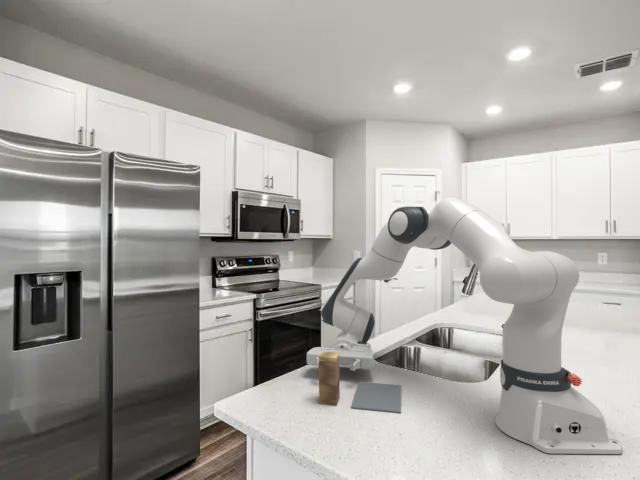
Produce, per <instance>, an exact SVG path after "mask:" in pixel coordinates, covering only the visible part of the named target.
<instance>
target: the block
mask: <svg viewBox="0 0 640 480" xmlns="http://www.w3.org/2000/svg"><path fill="white" fill-rule="evenodd" d="M340 382H341V381H340V367H339V352H322V353H321V354H320V356H319V368H318V401H319V402H318V404H319V405H324V406H334V407H335V406H336V407H337V405H338V403H339V401H340V398H341V397H340V393H341V392H340V391H341V389H340V388H341V386H340Z"/></svg>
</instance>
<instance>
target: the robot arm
mask: <svg viewBox="0 0 640 480" xmlns="http://www.w3.org/2000/svg"><path fill="white" fill-rule="evenodd" d="M450 245H454V247H456V248H457V249H458V250H459V251H460V252H461V253H462V254H463V255H465V256H466V257H467V258H468V259H469V260H470V261H472V263H473V264H474V265H475V267H476V268H477V270H478V271H479V282H480V286H481V289H482V291H483V292H484V293H485V295H486V296H487V297H489V298H490V299H491V300H493V301H494V302H498V303H501V304H502V303H503V304H509V305H513V307H512V310H511V313H510V314H509V317H508V318H507V320H506V321H504V323H503V326H502V359H501V360H500V369H499V372H500V373H499V375H500V377H499V378H500V384H501V395H500V399H499V407H498V410H497V413H496V415H495V420H494V422H495V425H496V426H497V428H498V429H499V430H500V431H502V432H503V433H505V434H506V435H508V436H509V437H511V438H513V439H515V440H518V441H521V442H523V443H525V444H527V445H530V446H532V447H534V448H535V449H536V450H539V451H541V452H543V453H546V454H559V455H560V454H561V455H563V454H566V455H567V454H569V455H570V454H571V455H572V454H575V455H622V453H623V445H622V442H621V441H620V439H619V438H618V437H617V436H616V434H615V433H613V431H612V430H610V429H609V427H608V428H607V424H606V420H605V417H604V414H603V413H602V412H601V410H600V408H599V407H598V406H596V405H595V404H594V403H593V402H592V401H591V400H590V399H588V398H587V397H586V396H584V395H583V394H582V393H580V392H579V391H578V390H577V389H576V388H574V387H580V386H581V385H583V384H582V382H583V381H582V378H580V377H579V376H578V375H577V374H575V373H572V372H570V371H569V370H567V369H566V368H564V367H562V334H563V333H562V332H563V328H564V327H563V326H564V322H565V318H566V313H567V310H568V306H569V303H570V300H571V299H570V298H571V296H572V293H573V291H574V290H575V288H576V287H577V285H578V283H579V281H580V271H579V269H578V265H577V264H576V263H575V262H574V260H572V259H571V258H569V257H568V256H566V255H563V254H561V253H558V252H555V251H550V250H541V251H540V250H538V251H530V250H527V249H524V248H522V247H520V246H519V245H517V244H516V243H515V241H514V240H513V239H512V238H511V237H510V232H509V229H508V228H507V227H506V226H505V225H503V224H502V223H500V222H498V221H497V220H496V219H495V218H494V217H491V216H490V215H489V214H487V213H486V212H485V211H483V210H481V209H480V208H479V207H477V206H475V205H474V204H472V203H469V202H468V201H465V200H464V199H461V198H459V197H455V196H448V197H445V198H443V199H441V200H440V201H438V202H437V204H436V205H435V206H434V207H433V208H432V209H425V207H424V206H402V207H401V206H400V207H398V208H396V209H395V210H393V211H392V213H391V214H390V215H389V218H388V221H387V222H386V223H385V224H384V225H383V227H382V228H381V229H380V231H379V233H378V235H377V237H376V238H375V240H374V242H373V244H372V246H371V249H369V251H368V253H367V254H365V255H364V256H363V257H358V258H356V259H355V260H354V261H353V263H352V264H351V265H350V267H349V268H348V270H347V272H346V273H345V274H344V276H343V277H342V279H340V282H339V283H338V285H337V287H336V288H335V289H334V291H333V292H332V294H331V295H330V296H329V297H328V298H327V299H326V301H324V303H323V306H322V308H321V310H320V315H321V318H322V320H323V322H324V323H325V324H327V325H330V326H332V327H335V328H337V329H339V330H341V332H339V334H337V336H336V338H335V339H334V341H332V344H331V345H330V347H323V346H317V347H316V346H315V347H312V348H311V349H309V350H308V351H307V352H306V364H307V365H309V366H316V368H317V369H319V356H320V354H321V353H322V352H339V368H348V369H349V371H351V372H356V370H357V369H363V370H364V369H365V370H372V369H374V368H375V366H374V362H375V361H374V359H375V358H374V351H373V349H372V347H371V343H369V342H368V341H369V340H370V338H371V335H372V333H373V330H374V327H375V324H376V322H375V318H374V315H373V313H372V312H371V311H370V310H367V309H365V308H363V307H361V306H359V305H356V304H355V303H352V302H351V301H348V300H346V298H345V296H346V295H347V293H348V292H349V291H350V289H351V288H352V286H353V285H354V283H355V282H357V281H359V280H372V281H385V280H389V279H392V278H394V277H395V276H396V275H398V273H399V272H400V270H401V269H402V266H403V264H404V262H405V260H406V258H407V255H408V253H410V250H411V249H412V248H414V247H415V248H420V249H426V250H428V249H429V250H433V251H435V250H436V251H437V250H443V249H446V248H447V247H449V246H450ZM573 386H574V387H573Z"/></svg>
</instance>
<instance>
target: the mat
mask: <svg viewBox="0 0 640 480" xmlns="http://www.w3.org/2000/svg"><path fill="white" fill-rule="evenodd" d="M350 408H351V409H353V410H363V411H364V410H365V411H371V412H374V411H375V412H384V413H395V414H401V413H402V385H401V384H393V383H381V382H380V383H377V382H367V381H358V383H357V386H356V389H355V393H354V396H353V399H352V403H351V405H350Z"/></svg>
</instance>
